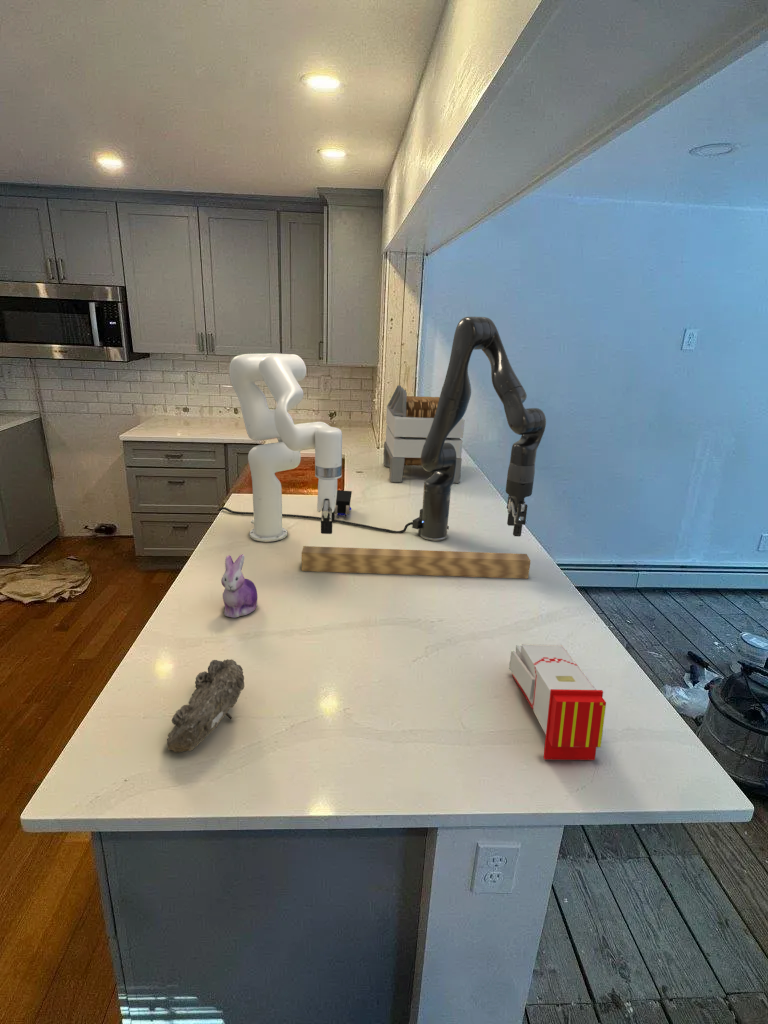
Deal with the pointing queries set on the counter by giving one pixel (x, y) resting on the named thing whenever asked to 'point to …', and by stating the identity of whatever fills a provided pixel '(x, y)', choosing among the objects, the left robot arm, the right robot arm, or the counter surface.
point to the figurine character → (343, 503)
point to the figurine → (237, 589)
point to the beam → (415, 562)
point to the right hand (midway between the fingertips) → (513, 530)
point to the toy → (560, 700)
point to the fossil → (206, 705)
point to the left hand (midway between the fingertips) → (327, 527)
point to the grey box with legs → (413, 432)
